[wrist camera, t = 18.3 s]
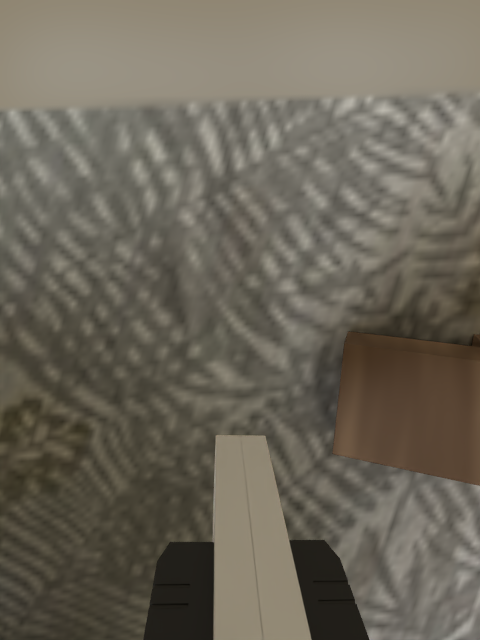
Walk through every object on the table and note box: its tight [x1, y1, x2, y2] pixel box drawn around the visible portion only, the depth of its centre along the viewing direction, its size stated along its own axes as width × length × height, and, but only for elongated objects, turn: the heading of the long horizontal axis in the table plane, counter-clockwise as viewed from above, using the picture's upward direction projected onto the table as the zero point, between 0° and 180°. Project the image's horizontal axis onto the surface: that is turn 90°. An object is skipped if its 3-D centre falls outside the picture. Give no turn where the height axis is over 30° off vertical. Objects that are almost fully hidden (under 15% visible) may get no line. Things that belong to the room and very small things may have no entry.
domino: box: [333, 331, 480, 486], centre depth 16 cm, size 2×5×10 cm
